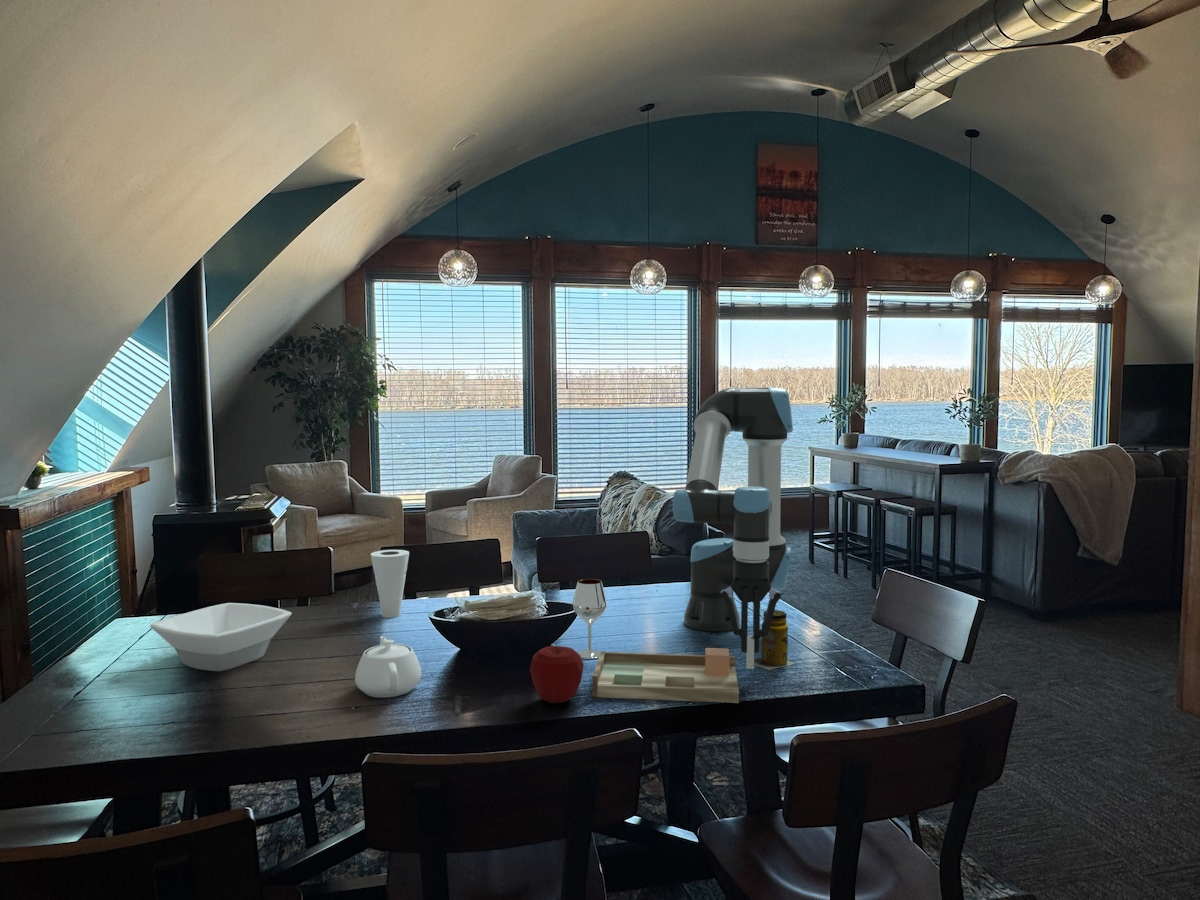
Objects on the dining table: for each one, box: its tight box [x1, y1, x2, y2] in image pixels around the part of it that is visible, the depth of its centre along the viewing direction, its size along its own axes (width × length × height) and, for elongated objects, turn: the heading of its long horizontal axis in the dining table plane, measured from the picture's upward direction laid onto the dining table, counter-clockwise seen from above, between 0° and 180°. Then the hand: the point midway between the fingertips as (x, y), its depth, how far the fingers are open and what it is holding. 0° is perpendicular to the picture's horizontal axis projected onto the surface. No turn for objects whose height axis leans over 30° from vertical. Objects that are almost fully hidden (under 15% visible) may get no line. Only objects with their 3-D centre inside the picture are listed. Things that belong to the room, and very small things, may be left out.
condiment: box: [754, 609, 796, 671], centre depth 187 cm, size 7×8×12 cm
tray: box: [592, 651, 740, 704], centre depth 172 cm, size 16×30×4 cm, turn 84°
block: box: [704, 647, 730, 676], centre depth 173 cm, size 5×5×4 cm
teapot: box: [354, 635, 422, 699], centre depth 170 cm, size 22×14×11 cm, turn 21°
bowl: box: [149, 602, 292, 672], centre depth 190 cm, size 24×25×10 cm
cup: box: [370, 549, 410, 619], centre depth 228 cm, size 11×11×18 cm
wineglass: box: [572, 578, 608, 660], centre depth 192 cm, size 8×8×18 cm
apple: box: [529, 645, 585, 705], centre depth 163 cm, size 11×11×12 cm
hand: (749, 666), depth 173 cm, fingers closed
